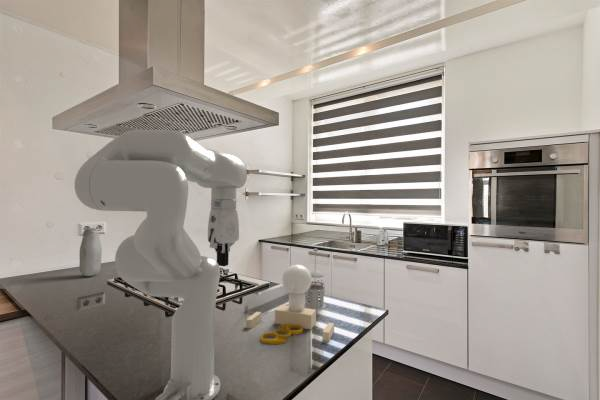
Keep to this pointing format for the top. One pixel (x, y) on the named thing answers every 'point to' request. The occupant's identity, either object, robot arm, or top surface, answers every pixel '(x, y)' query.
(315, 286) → the french press
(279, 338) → the novelty glasses
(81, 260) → the glass bottle
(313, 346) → the top surface
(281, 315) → the cream blocks and ball
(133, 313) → the top surface
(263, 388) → the top surface
